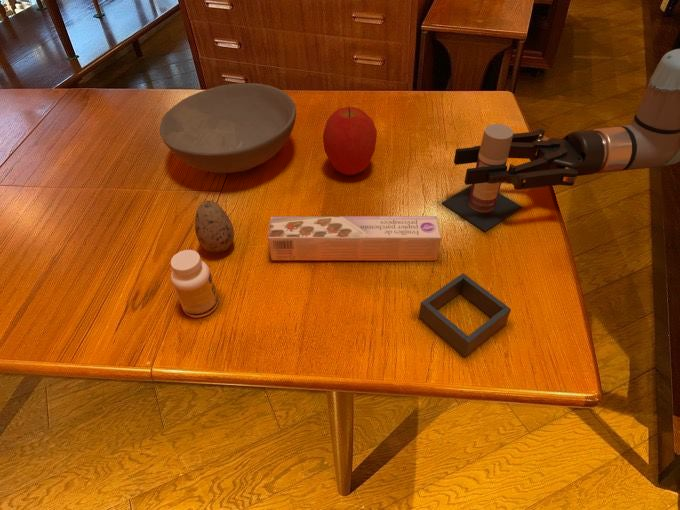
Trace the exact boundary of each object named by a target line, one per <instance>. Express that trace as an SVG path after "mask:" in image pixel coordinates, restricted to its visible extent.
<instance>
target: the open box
mask: <svg viewBox="0 0 680 510" xmlns="http://www.w3.org/2000/svg"><path fill="white" fill-rule="evenodd" d="M458 295H461V296H462V297H464V298H465V299H466V300H467V301H469V302H470V303H471V304H473V305H474V306H475V307H476V308H478V309H479V310H480V311H481V312H483V313H484V314H485V315H486V316H488V317H489V318H490V319H487V321H485V322H484V323H483V324H482V325H479V327H478V328H476V329H475V330H474V331H473V332H472V333H470V334H466V333H465V332H464V331H463V330H462V329H460V327H458V326H457V325H456V324H454V323H453V322H452V321H451V320H450V319H449V318H447V317H446V316H445V315H443V313H441V312H440V311H439V309H441V308H442V307H443V306H445V304H447V303H449V302H450V301H452V300H454V298H455V297H457V296H458ZM511 311H512V308H511V307H509V306H508V305H506V303H504V302H503V301H501V300H500V299H498V298H497V297H496V296H494V295H493V294H492V293H491V292H489V291H488V290H486V289H485V288H484V287H483V286H481V284H478V283H477V282H476V281H474V279H472V278H471V277H469V276H468V275H466V274H465V273H464V272H462V273H461V274H459V275H457V277H455V278H454V279H452V280H451V281H449V282H448V283H447V284H445V285H444V286H442V287H441V288H440V289H438V290H437V291H435V292H434V293H432V294H431V295H429V296H428V297H427V298H425V299H424V300H422V301H421V302H420V306H419V311H418V318H419V319H420V320H421V321H422V322H423V323H424V324H426V325H427V326H428V327H429V328H430V329H431V330H432V331H434V332H435V333H436V334H437V335H438V336H439V337H441V339H443V340H444V341H445V342H446V343H447V344H448V345H450V347H452V348H453V349H454V350H455V351H456V352H457V353H458V354H460V355H461V356H462V357H463V358H466V357H467V356H468V355H470V353H472V352H474V350H476V349H477V348H478V347H479V346H481V345H482V344H483V343H485V341H486V340H487V341H488V339H489V338H490V337H492V336H493V335H494V334H495V333H496V332H498V331H499V330H500V329H502V328H503V327H504V326H505V325H506V324H507V322H508V319H509V316H510V313H511Z"/></svg>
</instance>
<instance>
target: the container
mask: <svg viewBox="0 0 680 510" xmlns="http://www.w3.org/2000/svg"><path fill="white" fill-rule="evenodd" d="M513 134H514V130H513V129H512V128H511V127H510V126H508V125H506V124H502V123H492V124H491V123H490V124H489V125H487V126H485V127H484V131H483V135H482V138H481V143H480V146H481V147H480V151H479V155H478V160H477V163H475V168H478V167H487V166H496V165H505V164H506V165H507V162H508V159H509V158H508V155H509V150H510V146H511V142H512V137H513ZM471 185H472V188H471V193H470V198H469V206H470V207H471V208H472V209H473V210H475V211H477V212H483V213H486V212H490V211H492V210H493V209H494V208H495V205H496V201H497V197H498V193H500V189H501V185H502V182H501V183H488V182H487V183H478V184H471Z"/></svg>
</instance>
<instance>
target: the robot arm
mask: <svg viewBox="0 0 680 510" xmlns="http://www.w3.org/2000/svg"><path fill="white" fill-rule="evenodd" d="M647 84H648V85H647V86H646V89H645V91H644V93H643V95H642V98H641V100H640V103H639V105H638V107H637V110H636V112H635V114H634V116H633V118H632V120H631V122H630V124H627V125H621V126H612V127H611V126H610V127H601V128H594V129H584V130H575V131H571V132H569V133H567V135H565V136H563V137H561V138H556V137H547V135H545V134H546V133H545V132H546V130H545V129H543V128H539V129H536V130H534V131H528V132H517V133H513V137H512V142H511V146H510V150H509V155H508V159H526V160H529V161H527V162H523V163H521V164H516V165H514V164H512V163H510V164H509V167H508V166H507V163H506V164H505V165H496V166H487V167H478V168H476V167H469V168H466V172H465V176H464V182H463V183H464V185H465V186H467V185H468V186H471V185H472V184H478V183H487V182H488V183H501V184H502V183H506V184H509V185H511V184H512V185H513V189H514V190H516V191H522V190H530V189H531V190H532V189H538V188H545V187H546V188H547V187H554V186H565V187H566V186H567V187H573V186H574V185H575V182H576V180H577V177H580V176H581V177H582V176H589V175H590V176H591V175H593V174H607V173H614V172H623V171H632V170H633V171H634V170H643V169H644V170H645V169H657V168H661V167H665V166H672V165H675V164H677V163H679V162H680V48H676V49H672V50H669V51H667V52H666V53H665V54H664V55H663V56H662V57H661V58H660V60H659V63H658V64H657V65H656V67H655V69H654V71H653V74H652V75H651V76H650V78H649V80H648V83H647ZM480 147H481V145H474V146H472V147H463V148H455V153H454V157H453V158H454V159H453V164H454V165H455V166H457V165H467V164H477V160H478V155H479V151H480Z"/></svg>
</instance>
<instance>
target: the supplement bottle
mask: <svg viewBox="0 0 680 510" xmlns="http://www.w3.org/2000/svg"><path fill="white" fill-rule="evenodd" d="M170 267H171V269H172V270H171V273H170V280H171V283H172V286H173V288H174V291H175V293H176V296H177V298H178V301H179V303H180V306H181V308H182V310H183V312H184V313H185V314H186V315H187V316H188V317H191V318H202V317H204V318H205V317H206V316H208V315H210V314H211V313H213V312H214V311H215V310H216V309H217V307H218V305H219V296H218V292H217V289H216V285H215V283H214V280H213V277H212V273H211V270H210V268H209V266H208V264H207V263H206V262H205V261H203V260H202V258H201V255H200V253H198V251H196V250H193V249H183V250H180V251H178V252H177V253H175V254H174V255H173V256H172V257H171V259H170Z"/></svg>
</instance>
